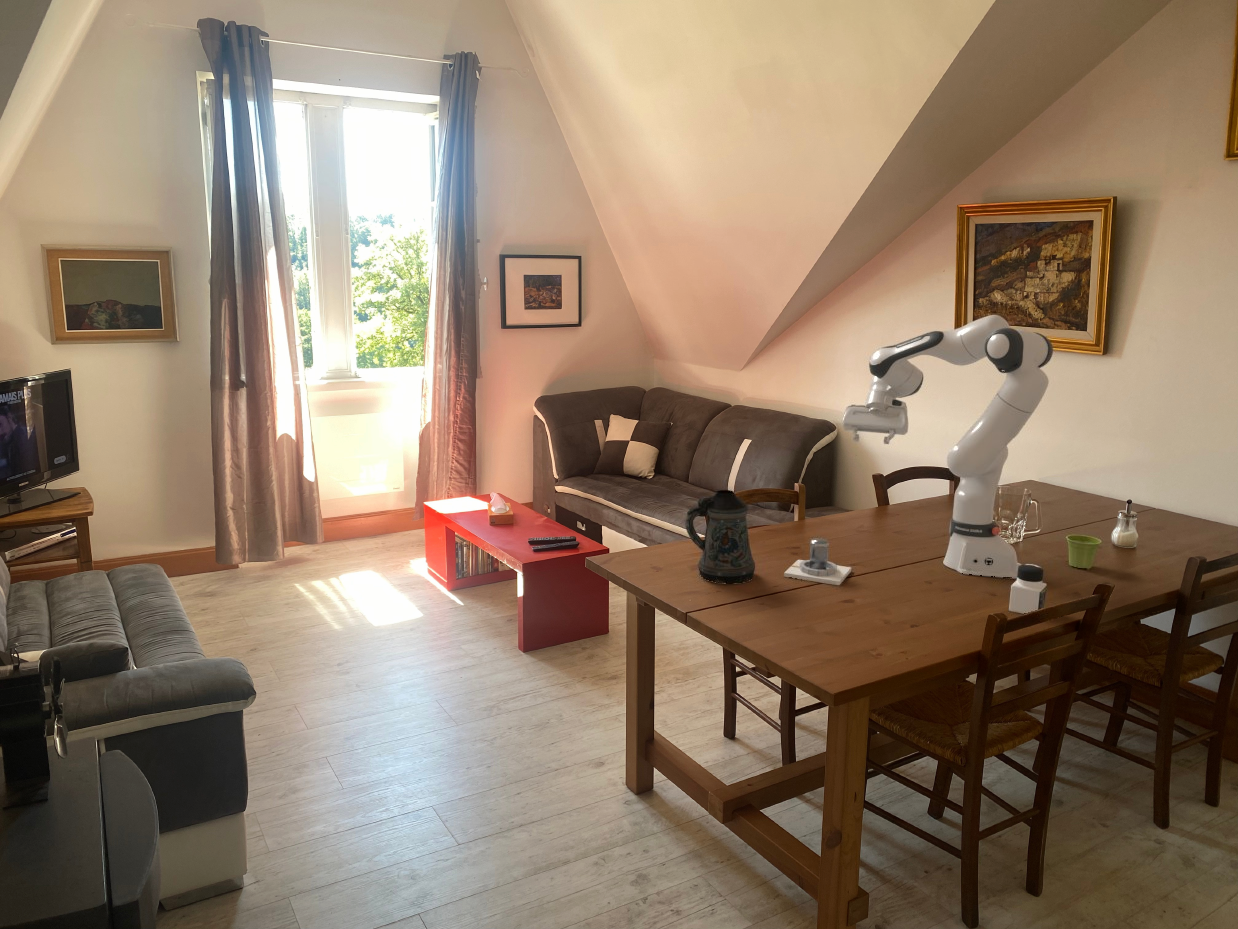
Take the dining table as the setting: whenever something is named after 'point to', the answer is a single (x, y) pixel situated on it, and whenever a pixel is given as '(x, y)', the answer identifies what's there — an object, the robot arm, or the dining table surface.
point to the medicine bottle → (1028, 590)
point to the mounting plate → (819, 578)
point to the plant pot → (1082, 550)
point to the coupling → (819, 553)
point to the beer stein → (723, 538)
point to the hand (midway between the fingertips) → (870, 441)
